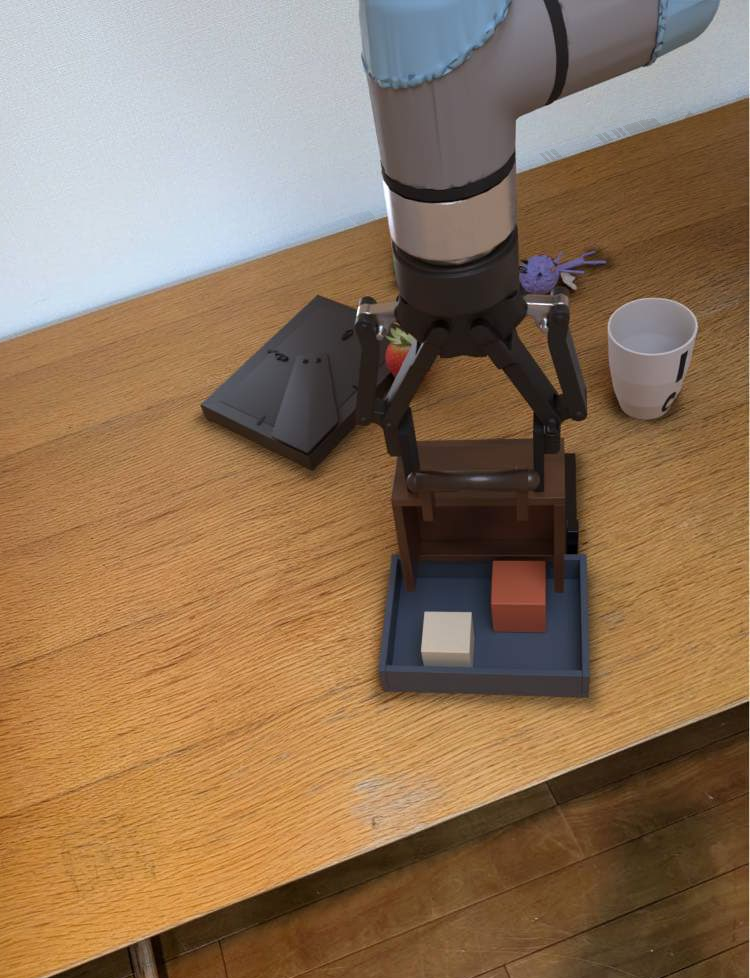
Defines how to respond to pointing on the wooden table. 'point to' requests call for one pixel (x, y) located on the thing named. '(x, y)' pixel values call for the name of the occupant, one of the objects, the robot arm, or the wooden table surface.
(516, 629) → the terracotta block
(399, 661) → the tray
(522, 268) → the toy
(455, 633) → the cream block
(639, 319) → the cup
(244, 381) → the picture frame
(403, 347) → the fruit
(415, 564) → the basket
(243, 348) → the wooden table surface
